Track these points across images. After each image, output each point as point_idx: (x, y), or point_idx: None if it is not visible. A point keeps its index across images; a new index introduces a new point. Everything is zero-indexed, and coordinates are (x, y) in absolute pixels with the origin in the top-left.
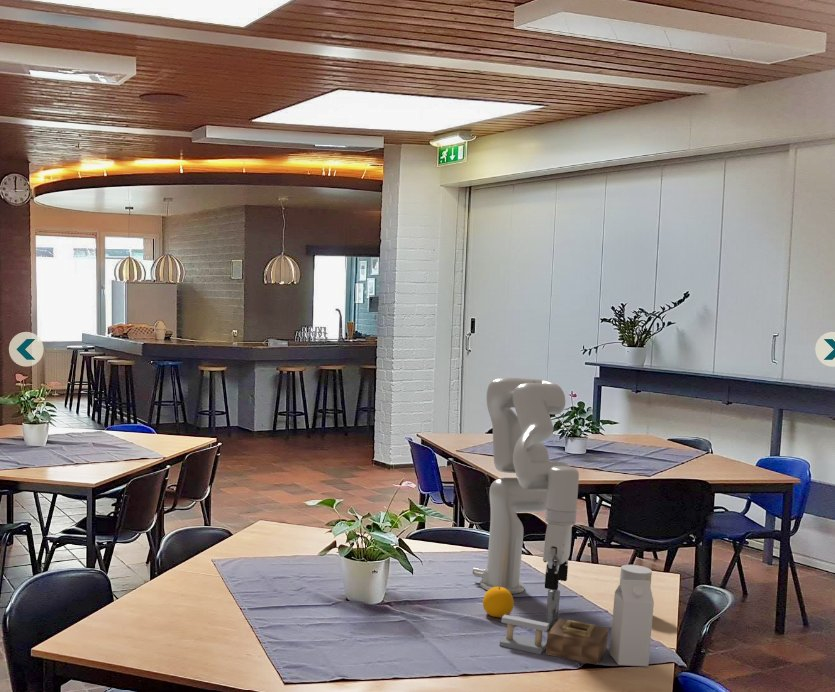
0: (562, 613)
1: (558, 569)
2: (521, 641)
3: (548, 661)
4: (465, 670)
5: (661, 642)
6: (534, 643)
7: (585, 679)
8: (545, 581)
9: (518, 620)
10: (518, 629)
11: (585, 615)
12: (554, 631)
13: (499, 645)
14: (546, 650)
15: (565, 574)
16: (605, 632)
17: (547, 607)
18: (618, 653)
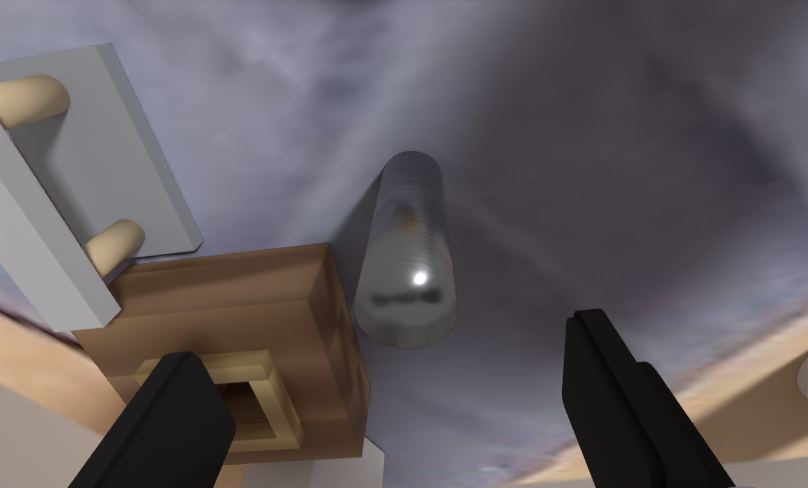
0: (729, 129)
1: (615, 442)
2: (88, 159)
3: None
4: None
5: (546, 469)
6: (128, 215)
7: (83, 403)
8: (130, 406)
9: None
10: (287, 33)
11: (743, 232)
12: (114, 338)
13: None
14: (121, 274)
15: (586, 454)
16: (303, 459)
17: (378, 215)
18: (252, 466)
